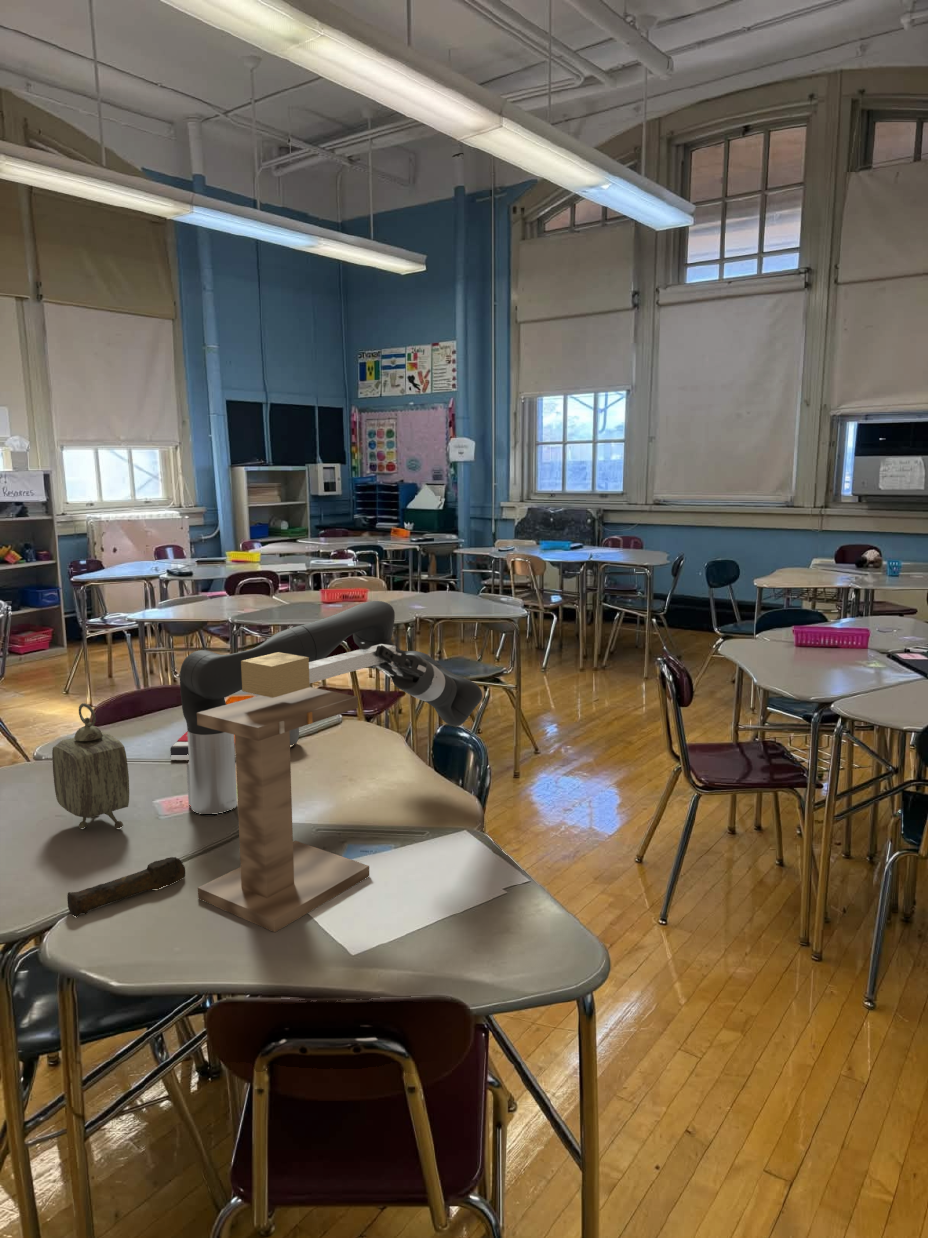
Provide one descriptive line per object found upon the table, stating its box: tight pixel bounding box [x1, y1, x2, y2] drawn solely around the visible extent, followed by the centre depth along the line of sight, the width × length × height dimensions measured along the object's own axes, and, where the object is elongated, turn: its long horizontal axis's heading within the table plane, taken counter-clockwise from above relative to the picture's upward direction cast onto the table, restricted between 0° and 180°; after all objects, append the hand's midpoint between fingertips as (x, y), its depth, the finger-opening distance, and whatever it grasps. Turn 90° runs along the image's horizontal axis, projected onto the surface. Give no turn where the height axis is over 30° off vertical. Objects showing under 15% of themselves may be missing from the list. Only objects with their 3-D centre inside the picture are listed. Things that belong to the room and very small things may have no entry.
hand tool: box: [66, 856, 186, 918], centre depth 137 cm, size 19×4×5 cm, turn 131°
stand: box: [197, 686, 370, 933], centre depth 138 cm, size 18×22×32 cm
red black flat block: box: [169, 731, 189, 756], centre depth 211 cm, size 11×4×15 cm
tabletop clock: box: [51, 702, 130, 829], centre depth 163 cm, size 14×9×25 cm, turn 47°
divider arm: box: [241, 644, 397, 698], centre depth 144 cm, size 7×32×5 cm, turn 146°
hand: (369, 648), depth 153 cm, fingers closed on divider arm, 3 cm apart
